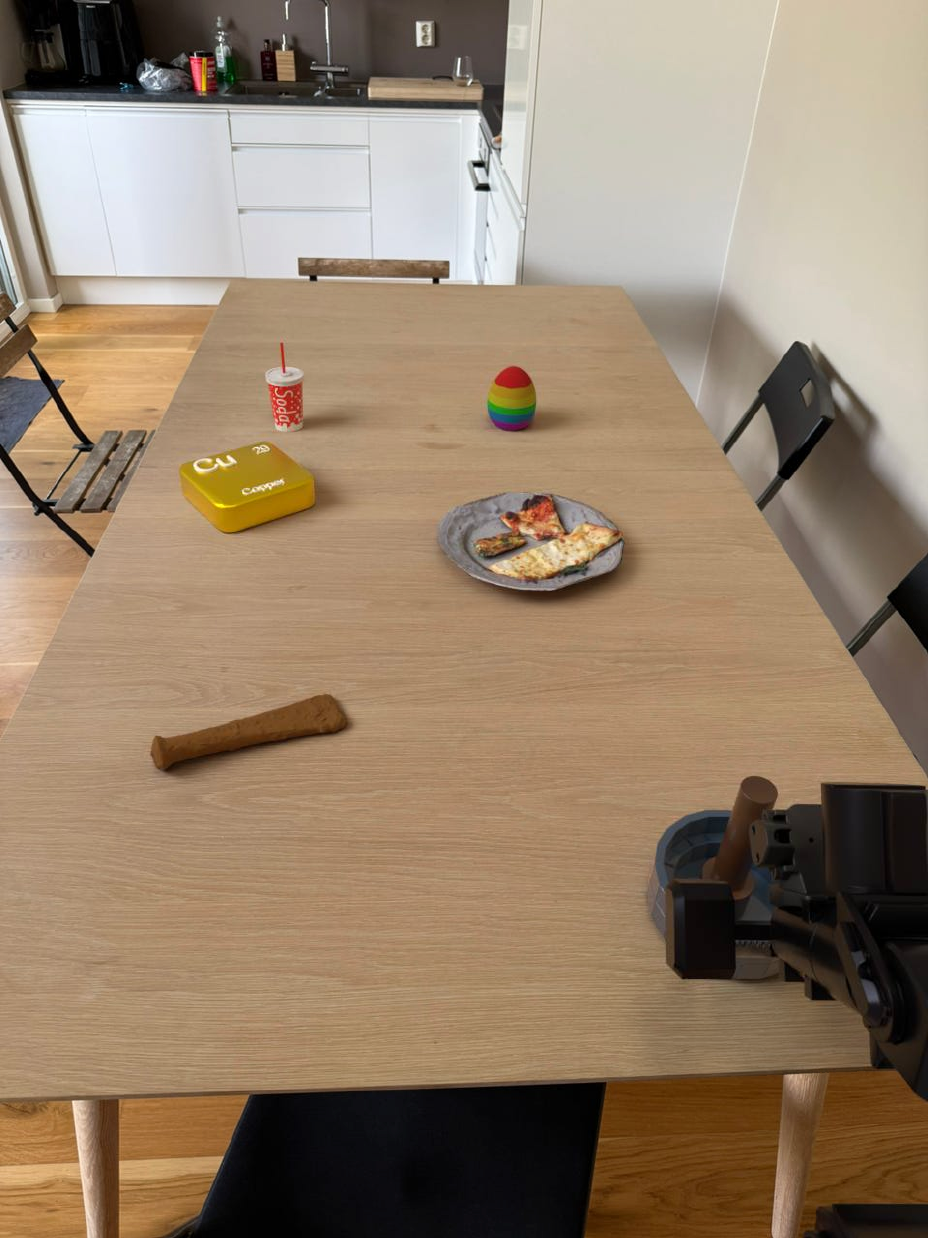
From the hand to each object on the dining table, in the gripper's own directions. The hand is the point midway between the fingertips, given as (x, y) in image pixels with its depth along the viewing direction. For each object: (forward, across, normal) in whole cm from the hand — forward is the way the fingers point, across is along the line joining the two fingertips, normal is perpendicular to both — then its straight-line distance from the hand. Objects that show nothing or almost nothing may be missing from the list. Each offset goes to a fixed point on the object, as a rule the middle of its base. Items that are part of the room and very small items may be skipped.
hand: (761, 906), depth 68 cm
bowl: (+9, 0, +2) cm, 9 cm away
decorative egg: (+75, +14, -66) cm, 101 cm away
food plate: (+48, +13, -38) cm, 62 cm away
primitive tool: (+23, +44, -12) cm, 51 cm away
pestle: (+9, 0, +1) cm, 9 cm away
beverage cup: (+73, +51, -63) cm, 109 cm away
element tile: (+56, +53, -46) cm, 90 cm away
